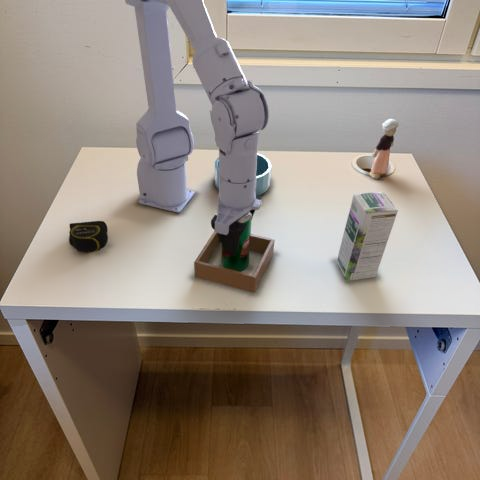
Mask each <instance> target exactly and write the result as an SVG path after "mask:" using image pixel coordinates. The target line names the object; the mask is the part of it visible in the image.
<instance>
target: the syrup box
mask: <svg viewBox="0 0 480 480" xmlns="http://www.w3.org/2000/svg"><path fill="white" fill-rule="evenodd" d="M398 212H399V210H398V209H397V207H395V205H394V204H393V202H392V200H391V199H390V198H389V197H388V196H387V194H386V193H385V192H384V191H366V192H359V193H356V194H353V195H352V199H351V203H350V207H349V211H348V215H347V219H346V222H345V227H344V231H343V235H342V238H341V242H340V245H339V250H338V253H337V257H336V264H337V265H338V267H339V269H340V271H341V273H342V275H343V276H344V278H345V280H346V281H347V282H351V281H358V280H359V281H360V280H365V279H372V278H376V276H377V273H378V271H379V267H380V265H381V263H382V260H383V256H384V253H385V250H386V248H387V244H388V241H389V238H390V236H391V233H392V230H393V226H394V224H395V221H396V218H397V215H398Z"/></svg>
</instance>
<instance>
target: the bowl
mask: <svg viewBox="0 0 480 480" xmlns="http://www.w3.org/2000/svg"><path fill="white" fill-rule="evenodd" d="M271 176H272V163H271V161H270V160H269V158H267V157H266V156H265V155H263V154H261V153H257V170H256V178H257V181H256V189H255V192H256V196H259V197H260V196H261V195H263V194H265V193H266V192H267V191H268V190H269V189H270V185H271V178H272V177H271ZM214 185H215V187H216V190H218V191H219V156H218V157H217V158H216V159H215V161H214Z"/></svg>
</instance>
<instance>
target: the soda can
mask: <svg viewBox="0 0 480 480" xmlns="http://www.w3.org/2000/svg"><path fill="white" fill-rule="evenodd" d="M252 221H253V218H252V214H251V212H250V211H249V212H247V213H246V214H245V215H243V216H242V217H240V218H239V219H237V222H239V223H243V224H247V226H246V228H245V230H244V231H243V233H242V235H241V238H240V242H239V248H238V251H237V254H236V255H235V256H232V255H228V254H225V253H224V251H223V248H222V245H221V244H220V247H221V248H220V249H221V251H220V252H221V253H220V254H221V256H220V258H221V261H220V263H221V267H223V268H227V269H231V270H235V271H239V272H244V271H246V270H247V269H248V268H249V266H250V256H251V255H250V254H251V251H250V239H251V234H252Z"/></svg>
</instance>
